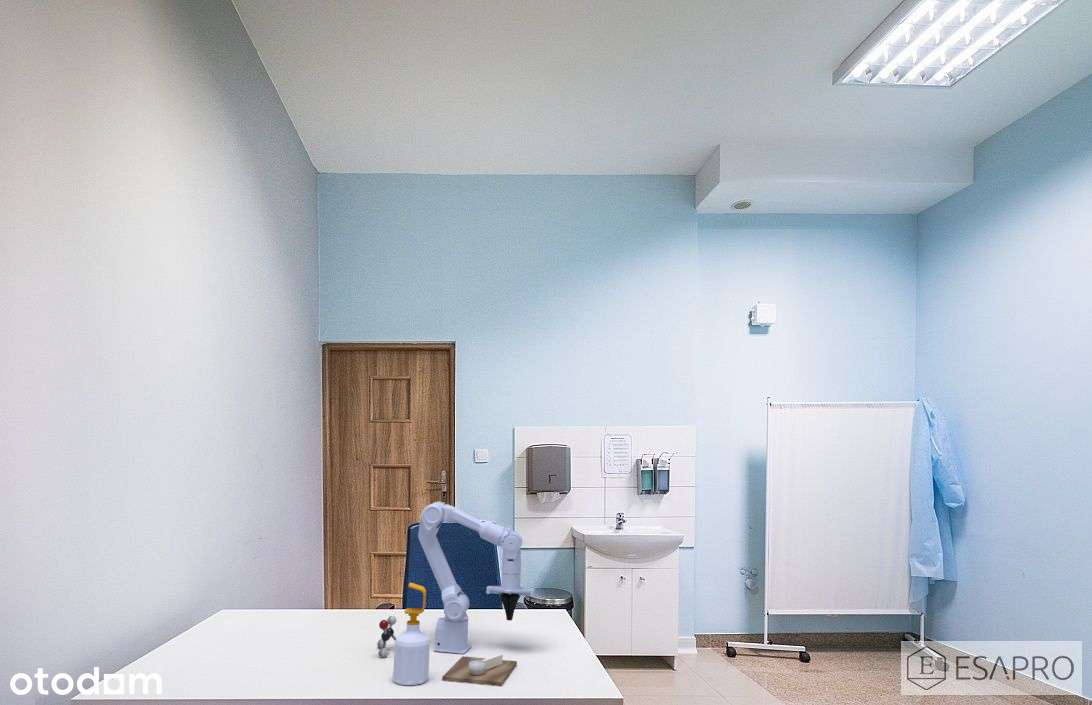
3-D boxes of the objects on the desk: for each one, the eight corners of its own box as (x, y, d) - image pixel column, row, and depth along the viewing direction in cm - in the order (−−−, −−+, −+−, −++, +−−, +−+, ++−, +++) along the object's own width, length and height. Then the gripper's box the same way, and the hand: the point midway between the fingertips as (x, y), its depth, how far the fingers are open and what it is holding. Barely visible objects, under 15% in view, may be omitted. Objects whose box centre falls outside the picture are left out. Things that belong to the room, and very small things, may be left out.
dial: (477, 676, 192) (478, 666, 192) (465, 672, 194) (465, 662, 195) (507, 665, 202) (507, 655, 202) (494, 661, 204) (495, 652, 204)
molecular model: (405, 648, 219) (407, 611, 220) (395, 660, 207) (397, 621, 208) (378, 646, 219) (380, 610, 220) (366, 659, 207) (369, 620, 208)
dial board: (442, 680, 191) (442, 675, 191) (462, 659, 209) (462, 655, 209) (501, 686, 188) (501, 681, 188) (516, 664, 206) (516, 660, 206)
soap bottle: (395, 674, 195) (399, 580, 198) (429, 674, 196) (433, 580, 198) (390, 686, 186) (395, 587, 189) (426, 686, 187) (431, 587, 189)
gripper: (484, 573, 218) (482, 620, 216) (532, 577, 215) (530, 624, 213) (490, 569, 224) (488, 615, 223) (536, 572, 222) (535, 618, 220)
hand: (509, 619), depth 219 cm, fingers closed
